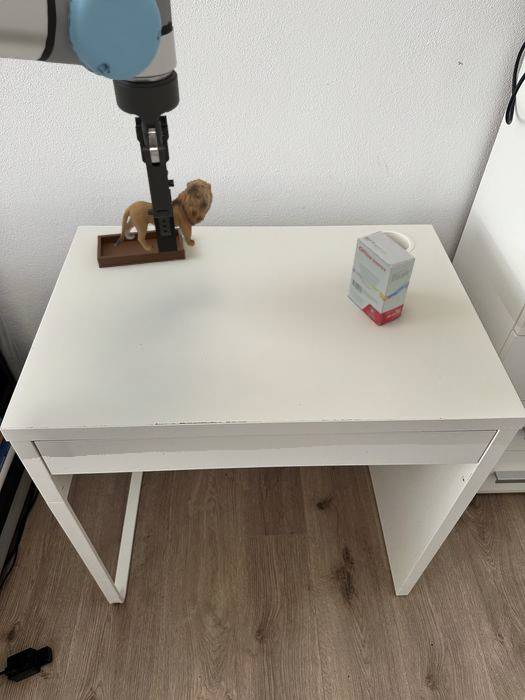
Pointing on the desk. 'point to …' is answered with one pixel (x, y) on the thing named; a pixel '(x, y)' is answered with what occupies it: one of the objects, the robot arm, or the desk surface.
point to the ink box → (380, 277)
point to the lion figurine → (185, 210)
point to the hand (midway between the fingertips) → (167, 239)
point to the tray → (134, 250)
